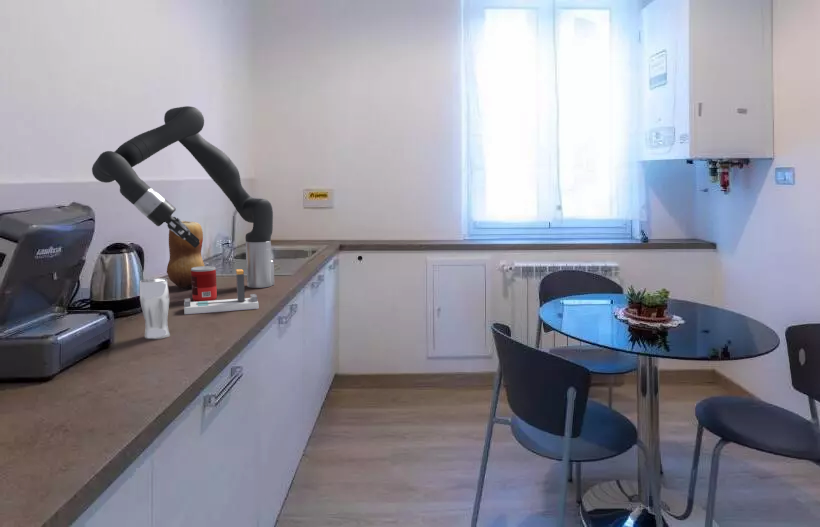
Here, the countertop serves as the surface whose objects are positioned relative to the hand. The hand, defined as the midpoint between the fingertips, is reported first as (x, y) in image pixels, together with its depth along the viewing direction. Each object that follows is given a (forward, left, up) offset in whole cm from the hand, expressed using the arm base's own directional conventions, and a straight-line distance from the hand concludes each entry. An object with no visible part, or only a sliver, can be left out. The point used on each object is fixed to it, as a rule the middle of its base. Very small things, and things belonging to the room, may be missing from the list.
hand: (197, 244), depth 178 cm
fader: (-11, +6, -19) cm, 22 cm away
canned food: (-9, -13, -21) cm, 26 cm away
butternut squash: (-17, -38, -21) cm, 47 cm away
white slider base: (-5, +3, -21) cm, 22 cm away
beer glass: (+24, +18, -21) cm, 36 cm away
